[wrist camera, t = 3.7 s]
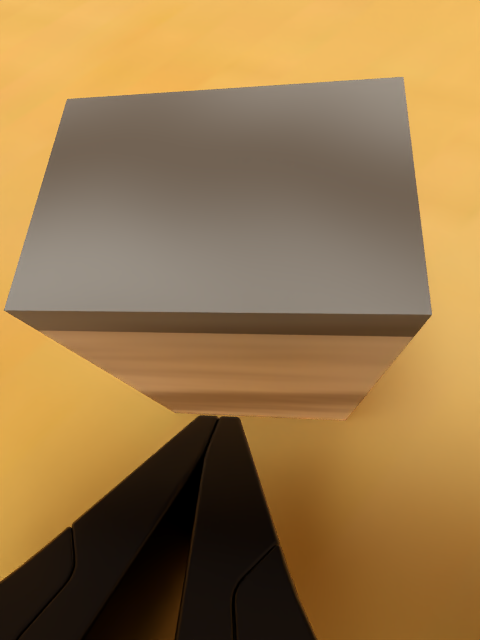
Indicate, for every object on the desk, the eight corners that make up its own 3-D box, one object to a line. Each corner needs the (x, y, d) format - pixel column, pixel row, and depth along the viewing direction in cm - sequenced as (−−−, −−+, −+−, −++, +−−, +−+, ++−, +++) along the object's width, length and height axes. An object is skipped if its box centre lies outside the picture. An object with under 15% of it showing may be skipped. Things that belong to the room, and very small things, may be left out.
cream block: (345, 420, 16) (431, 314, 6) (175, 412, 17) (4, 310, 7) (341, 305, 18) (403, 77, 8) (187, 304, 19) (67, 99, 9)
